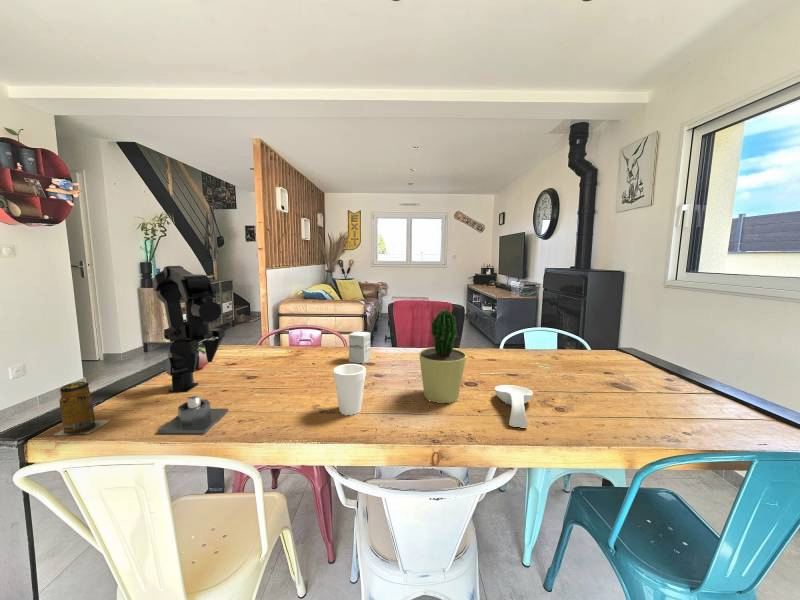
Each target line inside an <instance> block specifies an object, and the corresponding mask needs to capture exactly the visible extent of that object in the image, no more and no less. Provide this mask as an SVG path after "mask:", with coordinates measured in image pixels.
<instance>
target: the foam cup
mask: <svg viewBox="0 0 800 600" xmlns="http://www.w3.org/2000/svg"><path fill="white" fill-rule="evenodd" d="M366 375H367V368H366V367H365V366H364V365H363V364H359V363H345V364H340V365H338V366H336V367H334V369H333V379H334V384H335V385H334V386H335V391H336V398H337V403H338V409H339V413H340V412H341V413H342V414H341V413H340V414H341V415H343V414H346V415H345V416H347V415H350V416H354V415H353V414H355V415H357V414H356V413H358V412H359V413H360V412H361V411H362V403H363V397H364V389H365V379H366ZM360 410H361V411H360ZM359 413H358V414H359Z"/></svg>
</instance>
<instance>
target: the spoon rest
mask: <svg viewBox="0 0 800 600" xmlns="http://www.w3.org/2000/svg"><path fill="white" fill-rule="evenodd" d="M494 392H495V394H496V395H497V397H498V398H499V399H500V401H502V402H503V403H504V402H505V403H504V404H506V405H508V404H509V405H508V406H511V411H510V416H509V421H508V426H509V425H510V426H516V427H525V428H527V429H528V421H527V413H526V409H525V408H526V407H525V404H526V403H528V402H529V401H530V400H531V399H532V397H533V396H534V392H533V391H532V390H530V389H529V388H526V387H523V386H519V385H512V384H510V385H508V384H502V385H497V386H495V387H494Z"/></svg>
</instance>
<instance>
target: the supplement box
mask: <svg viewBox="0 0 800 600" xmlns="http://www.w3.org/2000/svg"><path fill="white" fill-rule="evenodd" d="M369 359H370V360H371V332H369V331H353V332H351V333H349V334H348V363H352V364H360V363H362V364H361V365H365V364H366V363H367V362H369V361H370V360H369ZM368 360H369V361H368ZM366 361H367V362H366ZM365 362H366V363H365ZM364 363H365V364H364Z"/></svg>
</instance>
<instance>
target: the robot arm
mask: <svg viewBox="0 0 800 600" xmlns="http://www.w3.org/2000/svg"><path fill="white" fill-rule="evenodd" d="M152 289H153V292H155V294H156V298H157V299H158V300H160V301H161V302H162V303H163V305H164V306H163V307H164V310H165V314H166V320H167V324H168V325H167V326H168V327H167V328H164V330H163V336H164V337H163V338H164V339H165V340H169V342H170V344H169V345H168V353H167V358H166V359H167V360H166V361H165V365H164V369H165V373H166V374H167V375H168V376H170V377H171V386H172V387H170V389H168V392H189V391H190V390H192V389H193V388H195V387H196V386H198V385H199V382H195V381H194V373H195V371H196V370H199V368H198V367H199V356H198V355H199V350H198V347H200V345H199V344H200V343H201V344H203V346H204V348H205V351H206V356H207V360H208V362H209V363H212V362H213V361H214V358H215V355H216V353H217V352H218V349H219V347H220V345H221V343H222V341H223V338H225V337H226V336H225V335H226V333H225V330H224V329H223V328H211V327H210V324H211V323H213V322H215V321H216V320H218V319H219V318H220V316H221V314H222V308H221V307H220V305H219V304H218V303H217V302H215V301H214V299H216V298H217V295H216V293H217V291H216V289H215V287H214V285H213V283H212V281H211V279H210V277H208V276H207V275H206V274H193V272H190V271H188V270H187V269H185V268H184V267H183V266H181V265H167V266H164V267H163V270H161V271H159V273H157V274H155V275H154V277H153V281H152ZM182 297H183V300H184V307H185V320H184V315H183V309H182V305H181V304H182V303H181V299H182Z"/></svg>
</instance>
